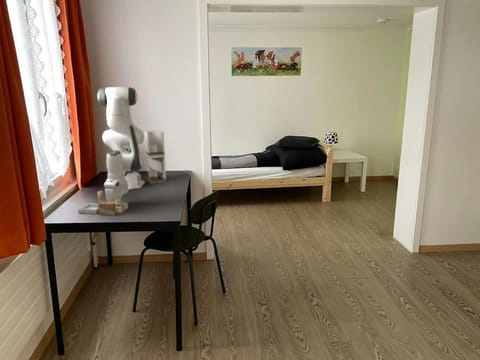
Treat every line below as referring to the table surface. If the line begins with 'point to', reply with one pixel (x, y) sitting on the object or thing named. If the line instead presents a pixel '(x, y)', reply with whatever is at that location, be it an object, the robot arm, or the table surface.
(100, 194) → the dowel
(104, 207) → the wooden block
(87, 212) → the tray
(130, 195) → the table surface
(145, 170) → the table surface
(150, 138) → the display case
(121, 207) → the board
